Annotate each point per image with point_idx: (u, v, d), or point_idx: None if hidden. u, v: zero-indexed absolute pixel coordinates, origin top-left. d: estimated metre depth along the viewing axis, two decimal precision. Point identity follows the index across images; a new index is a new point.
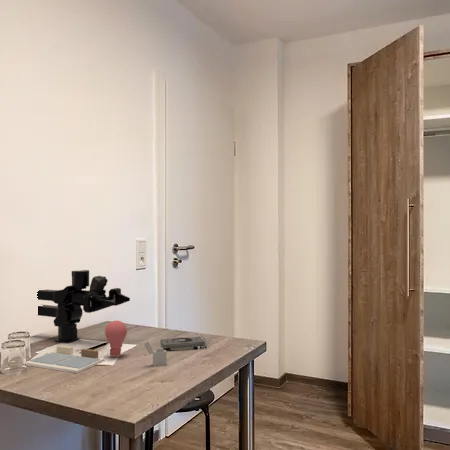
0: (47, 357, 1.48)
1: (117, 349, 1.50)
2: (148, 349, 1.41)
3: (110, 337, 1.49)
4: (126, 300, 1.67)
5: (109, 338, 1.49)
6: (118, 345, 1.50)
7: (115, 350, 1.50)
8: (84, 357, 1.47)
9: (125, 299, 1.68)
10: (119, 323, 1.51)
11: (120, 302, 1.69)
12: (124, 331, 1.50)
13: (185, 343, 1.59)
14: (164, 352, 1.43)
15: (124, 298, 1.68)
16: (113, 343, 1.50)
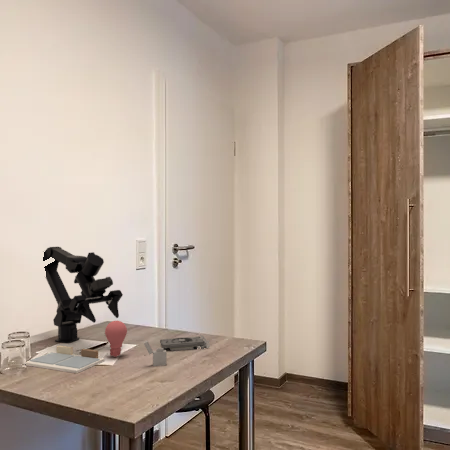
0: (47, 357, 1.48)
1: (117, 349, 1.50)
2: (148, 349, 1.41)
3: (110, 337, 1.49)
4: (115, 315, 1.60)
5: (109, 338, 1.49)
6: (118, 345, 1.50)
7: (115, 350, 1.50)
8: (84, 357, 1.47)
9: (115, 313, 1.60)
10: (119, 323, 1.51)
11: (111, 310, 1.62)
12: (124, 331, 1.50)
13: (185, 343, 1.59)
14: (164, 352, 1.43)
15: (115, 311, 1.60)
16: (113, 343, 1.50)
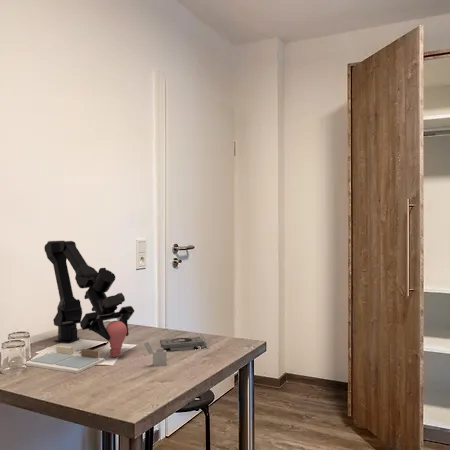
0: (47, 357, 1.48)
1: (117, 349, 1.50)
2: (148, 349, 1.41)
3: (110, 337, 1.49)
4: None
5: None
6: (118, 345, 1.50)
7: (115, 350, 1.50)
8: (84, 357, 1.47)
9: None
10: (119, 323, 1.51)
11: None
12: (124, 331, 1.50)
13: (185, 343, 1.59)
14: (164, 352, 1.43)
15: None
16: (113, 343, 1.50)
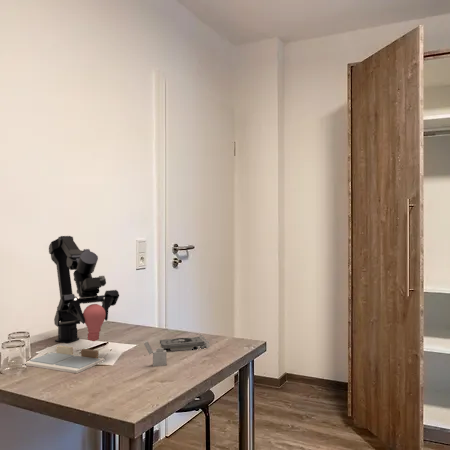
0: (47, 357, 1.48)
1: (93, 333, 1.44)
2: (148, 349, 1.41)
3: (86, 320, 1.43)
4: None
5: (85, 321, 1.44)
6: (94, 329, 1.44)
7: (91, 334, 1.44)
8: (84, 357, 1.47)
9: None
10: (96, 306, 1.45)
11: None
12: (100, 315, 1.44)
13: (185, 343, 1.59)
14: (164, 352, 1.43)
15: None
16: (89, 326, 1.44)
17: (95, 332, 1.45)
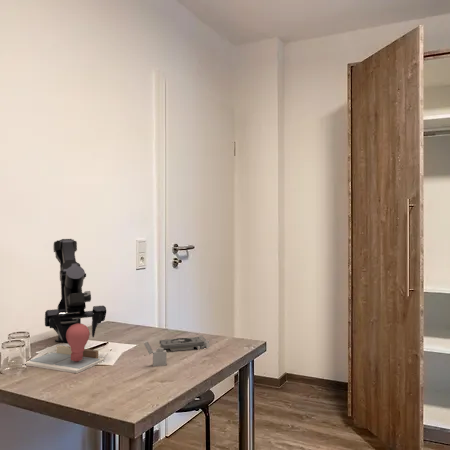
0: (47, 357, 1.48)
1: (75, 354, 1.41)
2: (148, 349, 1.41)
3: (68, 340, 1.41)
4: (92, 334, 1.45)
5: None
6: (77, 350, 1.41)
7: (74, 354, 1.41)
8: (84, 357, 1.47)
9: (92, 331, 1.45)
10: (78, 326, 1.41)
11: None
12: (82, 335, 1.41)
13: (185, 343, 1.59)
14: (164, 352, 1.43)
15: (92, 329, 1.45)
16: (71, 346, 1.41)
17: (77, 352, 1.41)
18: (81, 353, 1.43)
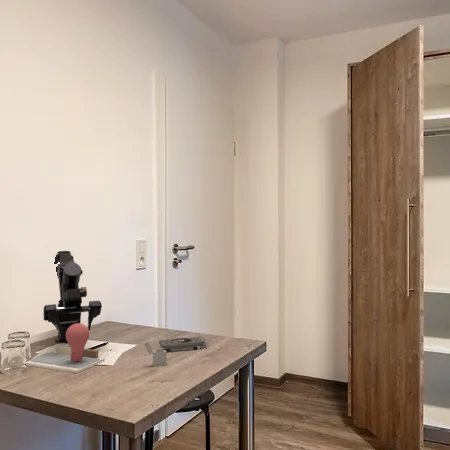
0: (47, 357, 1.48)
1: (75, 354, 1.41)
2: (148, 349, 1.41)
3: (67, 340, 1.41)
4: (88, 327, 1.54)
5: (67, 341, 1.41)
6: (76, 350, 1.41)
7: (73, 355, 1.41)
8: (84, 357, 1.47)
9: (88, 325, 1.54)
10: (78, 326, 1.41)
11: (88, 321, 1.56)
12: (82, 335, 1.41)
13: (185, 343, 1.59)
14: (164, 352, 1.43)
15: (88, 323, 1.54)
16: (71, 346, 1.41)
17: (77, 352, 1.41)
18: (81, 353, 1.43)
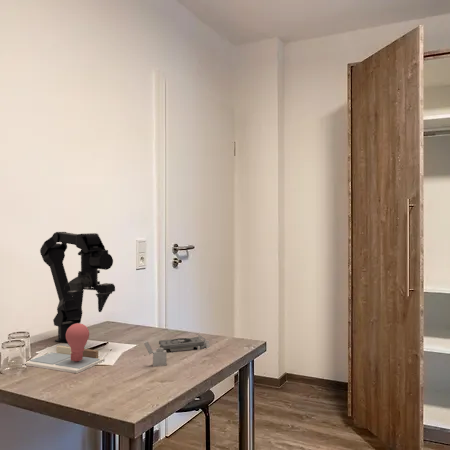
0: (47, 357, 1.48)
1: (75, 354, 1.41)
2: (148, 349, 1.41)
3: (67, 340, 1.41)
4: None
5: (67, 341, 1.41)
6: (76, 350, 1.41)
7: (73, 355, 1.41)
8: (84, 357, 1.47)
9: None
10: (78, 326, 1.41)
11: None
12: (82, 335, 1.41)
13: (185, 344, 1.59)
14: (164, 352, 1.43)
15: None
16: (71, 346, 1.41)
17: (77, 352, 1.41)
18: (81, 353, 1.43)
